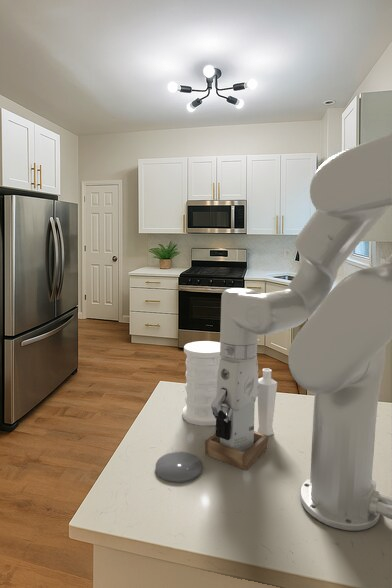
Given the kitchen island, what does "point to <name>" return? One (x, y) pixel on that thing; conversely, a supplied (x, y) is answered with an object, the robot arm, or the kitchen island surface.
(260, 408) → the white faceted vase
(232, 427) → the skincare box
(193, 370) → the decorative container
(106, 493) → the kitchen island surface
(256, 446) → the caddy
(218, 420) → the robot arm
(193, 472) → the coaster
